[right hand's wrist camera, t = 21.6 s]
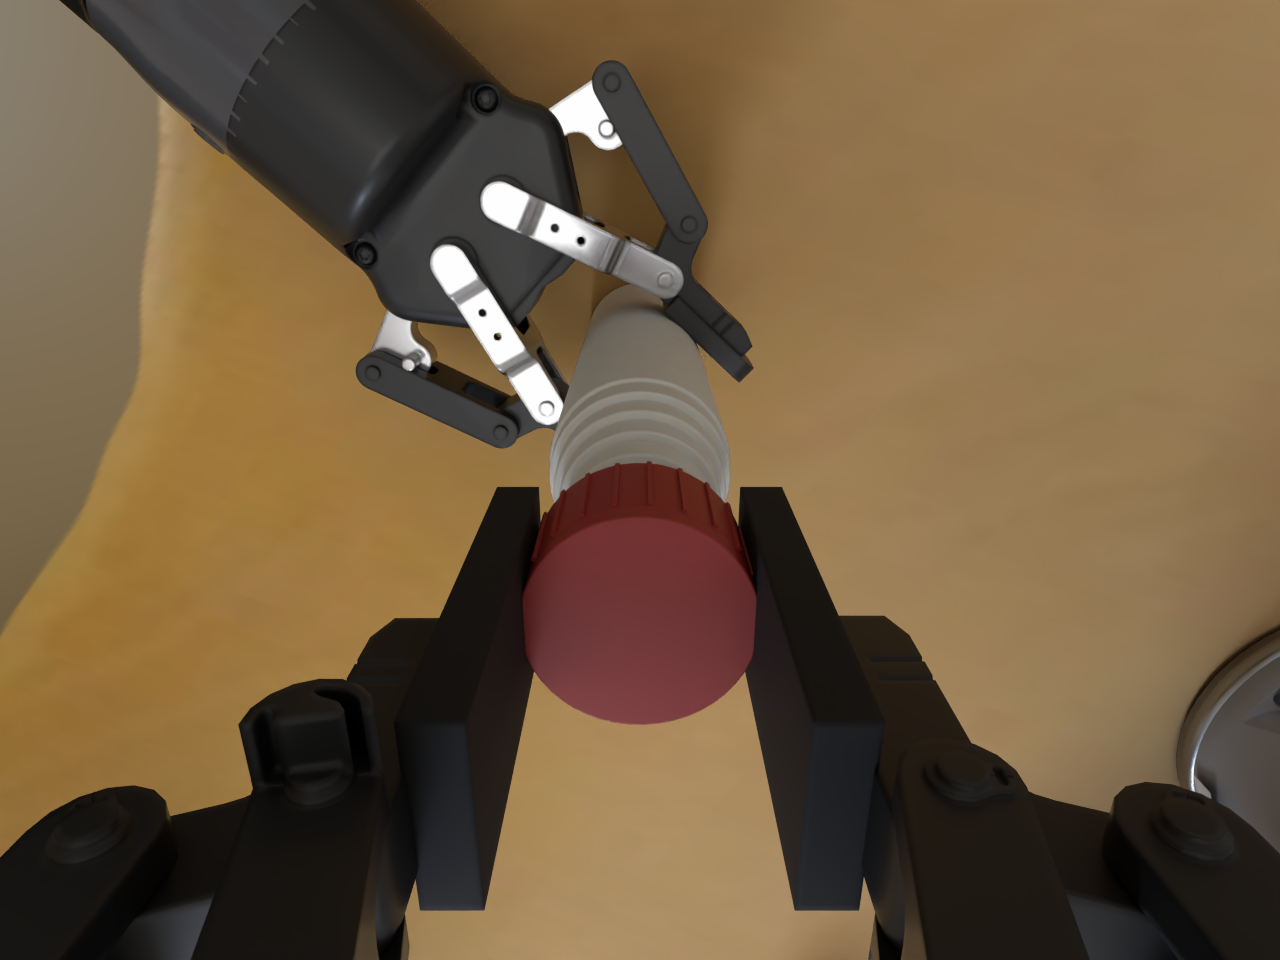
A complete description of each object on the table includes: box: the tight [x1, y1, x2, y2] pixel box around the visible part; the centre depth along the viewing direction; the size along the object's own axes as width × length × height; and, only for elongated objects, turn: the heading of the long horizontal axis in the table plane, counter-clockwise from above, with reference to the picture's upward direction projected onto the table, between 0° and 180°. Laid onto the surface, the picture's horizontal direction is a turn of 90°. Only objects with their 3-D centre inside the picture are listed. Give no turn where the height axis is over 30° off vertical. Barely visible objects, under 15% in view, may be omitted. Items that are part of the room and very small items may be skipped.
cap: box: [522, 461, 757, 725], centre depth 14 cm, size 4×4×2 cm
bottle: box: [549, 284, 730, 503], centre depth 24 cm, size 4×4×22 cm
